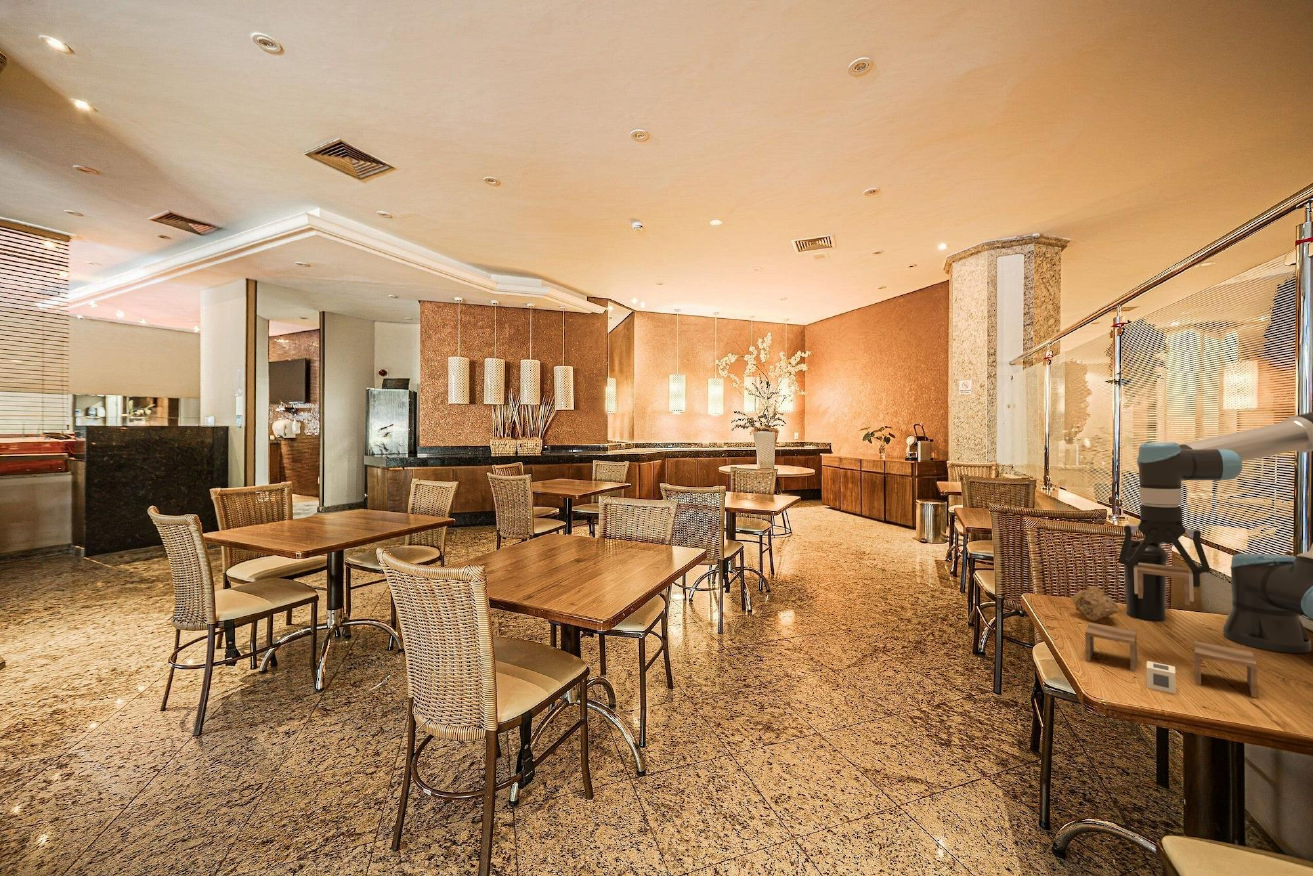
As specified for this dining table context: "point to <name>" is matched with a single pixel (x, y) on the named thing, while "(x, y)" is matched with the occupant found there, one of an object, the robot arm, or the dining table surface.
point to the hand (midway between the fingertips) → (1163, 596)
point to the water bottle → (1147, 585)
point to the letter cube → (1161, 677)
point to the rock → (1094, 603)
